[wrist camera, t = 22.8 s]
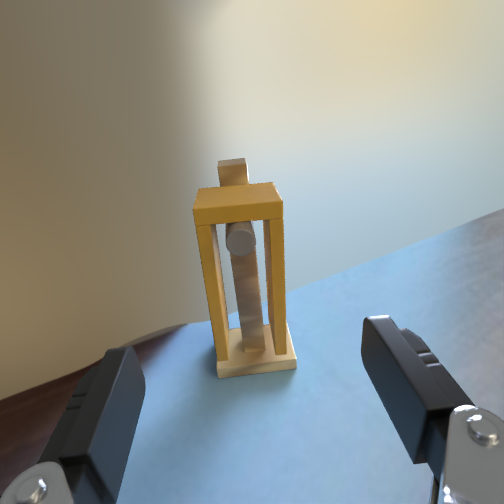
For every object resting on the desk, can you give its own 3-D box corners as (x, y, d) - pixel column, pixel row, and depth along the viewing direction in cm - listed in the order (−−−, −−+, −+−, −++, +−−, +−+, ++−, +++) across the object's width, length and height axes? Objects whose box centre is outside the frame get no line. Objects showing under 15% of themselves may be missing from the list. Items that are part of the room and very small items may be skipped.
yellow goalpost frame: (217, 362, 21) (192, 208, 17) (218, 324, 25) (198, 188, 20) (287, 354, 22) (283, 200, 17) (278, 317, 25) (273, 181, 20)
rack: (217, 433, 23) (162, 199, 15) (219, 339, 32) (186, 160, 24) (310, 420, 24) (305, 183, 15) (287, 330, 32) (276, 150, 24)
